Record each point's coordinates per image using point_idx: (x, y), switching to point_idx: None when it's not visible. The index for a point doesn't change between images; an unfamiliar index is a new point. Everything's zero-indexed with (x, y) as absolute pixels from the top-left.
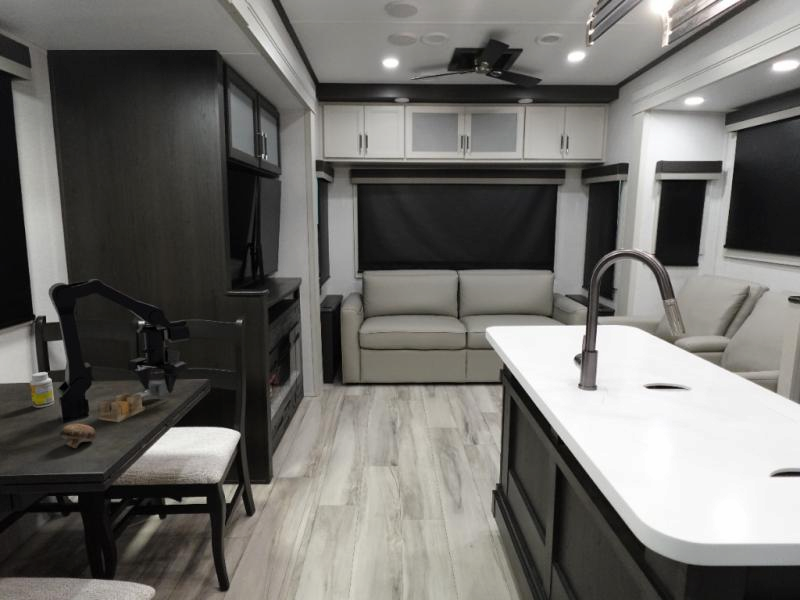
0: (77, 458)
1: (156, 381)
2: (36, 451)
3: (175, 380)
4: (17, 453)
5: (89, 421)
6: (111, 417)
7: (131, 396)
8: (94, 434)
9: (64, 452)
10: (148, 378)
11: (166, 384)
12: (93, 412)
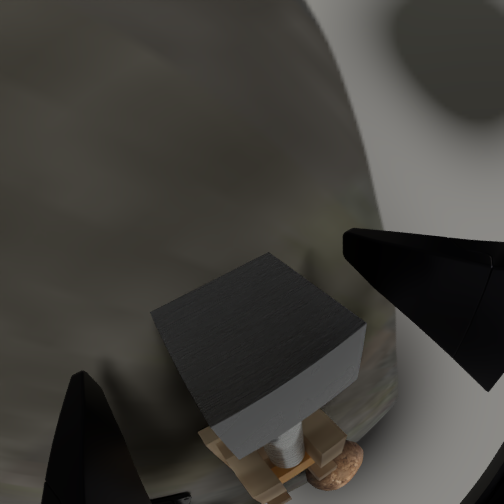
0: (353, 437)
1: (267, 404)
2: None
3: (466, 241)
4: None
5: (227, 481)
6: None
7: (325, 460)
8: (358, 445)
9: None
10: (90, 488)
11: (418, 321)
12: (152, 491)
